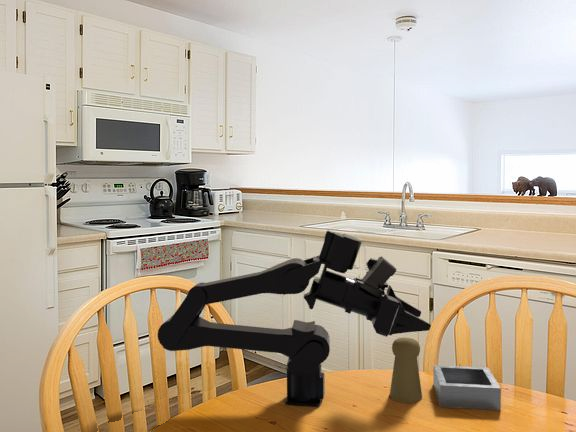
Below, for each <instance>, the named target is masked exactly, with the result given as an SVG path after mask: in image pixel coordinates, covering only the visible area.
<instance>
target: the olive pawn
mask: <svg viewBox="0 0 576 432" xmlns="http://www.w3.org/2000/svg"><path fill="white" fill-rule="evenodd" d="M391 350H392V354H393V355H394V361H393V369H392V376H391V382H390V383H391V384H390V388H389V389H390V390H389V391H390V392H389V396H390V398H392V400H394V401H397V402H400V403H417V402H419V401H421V400H423V393H422V385H421V378H420V377H421V376H420V369H419V364H418V363H419V362H418V357H419V355H420V351H421V346H420V344H419V342H418V340H417V339H414V338H411V337H399V338H398V337H397V338H396V339H394V340H393V342H392V345H391Z"/></svg>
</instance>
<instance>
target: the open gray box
mask: <svg viewBox="0 0 576 432" xmlns="http://www.w3.org/2000/svg"><path fill="white" fill-rule="evenodd" d="M433 388H434V391H435V394H436V397H437V398H436V399H437V402H438V403H439V407H440V408H452V409H453V408H454V409H455V408H456V409H469V410H470V409H472V410H473V409H474V410H489V411H501V406H502V405H501V404H502V388H501V386H500V385H499V383H498V381H497V379H496V378H495V377H494V375H493V373H492V372H491V370H490V368H489V367H483V366H463V365H461V366H460V365H458V366H457V365H439V364H436V365H435V364H433Z"/></svg>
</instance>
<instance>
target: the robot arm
mask: <svg viewBox="0 0 576 432" xmlns="http://www.w3.org/2000/svg"><path fill="white" fill-rule="evenodd" d="M362 243H363V240H362V239H360V238H357V237H354V236H352V235H349V234H346V233H340V232H335V231H331V230H326V232H325V234H324V241H323V244H322V247H321V250H320V253H319V255H316V256H313V257H310V258H307V259H304V260H303V259H302V258H298V257H296V258H295V257H294V258H290V259H287V260H285V261H283V262H279V263H277V264H275V265H273V266H271V267H269V268H267V269H265V270H262V271H257V272H252V273H248V274H243V275H239V276H233V277H228V278H222V279H219V280H215V281H208V282H198V283H196V284H194V286H192V287H191V288H190V289H189V290H188V292H187V295H186V296H185V298H184V299H183V300H182V302H181V304H180V305H179V307H177V309H176V311H175V312H174V313H173V315H172V316H170V317H169V318H168V319H167V320H165V321H164V322H163V323H162V324H161V325H160V326H159V328H158V330H157V339H158V340H157V341H158V342H159V344H160V346H162V348H163V349H165V350H166V351H169V352H177V351H178V352H179V351H181V352H182V351H190V350H195V349H198V348H203V347H213V348H223V349H224V348H225V349H234V350H245V351H254V352H256V351H257V352H265V353H275V354H281V355H282V356H285V357H287V358H288V359H287V363H286V398H285V400H284V404H285V405H293V406H294V405H295V406H309V407H311V406H313V407H320V406H321V403H322V400H323V399H324V398H325V392H326V391H325V390H326V389H325V388H326V387H325V381H326V380H325V377H326V375H325V372H322V364H323V363H324V362H325V361H326V360H327V359H328V357H329V356H330V350H331V348H330V347H331V345H330V344H331V341H330V335H329V332H328V331H327V330H326V328H324V326H322V325H318V324H316V321H315V320H313V321H308V322H306V321H303V320H298V319H294V320H293V323H292V327H287V328H283V329H282V328H272V327H264V326H263V327H262V326H260V327H259V326H251V325H250V326H249V325H239V324H230V323H220V322H219V323H218V322H212V321H209V320H207V319H205V318H203V317H201V314H202V312H203V311H204V310H205V307H206V305H210V304H216V303H221V302H226V301H230V300H231V301H232V300H235V299H241V298H245V297H251V296H256V295H261V294H262V295H263V294H271V295H273V294H274V295H297V294H301V293H303V292H305V290H306V289H307V288H308V286H309V285H310V281H311V279H313V280H312V283H311V285H310V289H309V291H308V292H306V293H304V294H303V299H304V300H305V302H306V303H307V306H308V308H309V310H313V309H314V307H315V304H316V302H317V301H320V302H322V303H326V304H329V305H332V306H335V307H338V308H340V309H342V310H344V313H347V314H351V313H352V312H353V313H355V314H357V315H361V316H364V317H365V319H366V320H367V321H370V322H371V324H372V327H373V329H374V331H375V334H378V335H380V336H383V337H386V338H387V337H388V336H392V335H397V334H398V335H399V334H406V333H417V332H426V331H430V330H431V327H432V326H431V324H430V323H429V322H427V321H425V319H421V318H420V317H421V314H422V311H421V310H419V309H418V308H417V307H415V306H413V305H411V304H409V303H408V302H406V301H405V300H404V299H401V298H400V297H398V296H397V295H396V293H395V292H394V289H393V288H392V286H391V284H388V280H389V279H390V278H391V277H393V276H394V275H395V273H396V272H397V271H398V270H397V268H396V267H395V266H394V265H393V264H392V263H390V262H389V261H388V260H387V259H386V258H385V257H383V256H379V257H377V258H378V259H377V258H371V257H370V258H369V259H368V260H367V261H366V266H367V269H368V271H366V272H365V274H364V276H363V277H362V278H360V277H353V278H350V277H347V276H345V275H341V274H346V272H348V270H349V271H352V270H354V266H355V263H356V260H357V257H358V254H359V252H360V249H361V246H362ZM322 265H323V267H322V268H323V269H322V271H321V274H320V275H319V276H320V277H319V278H318V277H317V278H316V277H315V276H316V275H318V274H319V273H320V269H321V266H322ZM327 269H329V270H327ZM330 270H331V271H330ZM332 271H333V272H332ZM336 272H337V273H336ZM339 273H340V274H339ZM314 277H315V278H314ZM385 289H387V290H385Z"/></svg>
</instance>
